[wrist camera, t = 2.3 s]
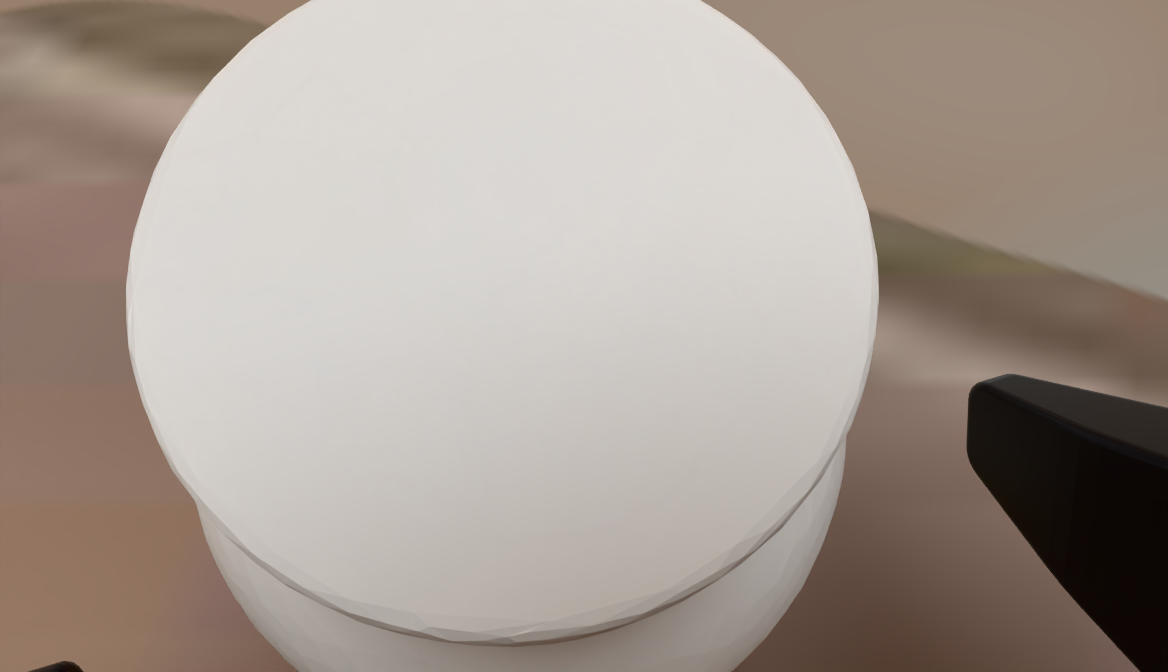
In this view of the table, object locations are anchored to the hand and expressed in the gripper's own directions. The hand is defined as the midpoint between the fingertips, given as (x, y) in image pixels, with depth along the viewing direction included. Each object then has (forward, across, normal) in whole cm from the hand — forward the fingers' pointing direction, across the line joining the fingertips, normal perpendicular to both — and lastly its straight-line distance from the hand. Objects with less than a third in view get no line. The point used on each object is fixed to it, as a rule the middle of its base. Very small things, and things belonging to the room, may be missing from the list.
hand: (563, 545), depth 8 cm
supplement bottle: (+8, 0, +6) cm, 9 cm away
